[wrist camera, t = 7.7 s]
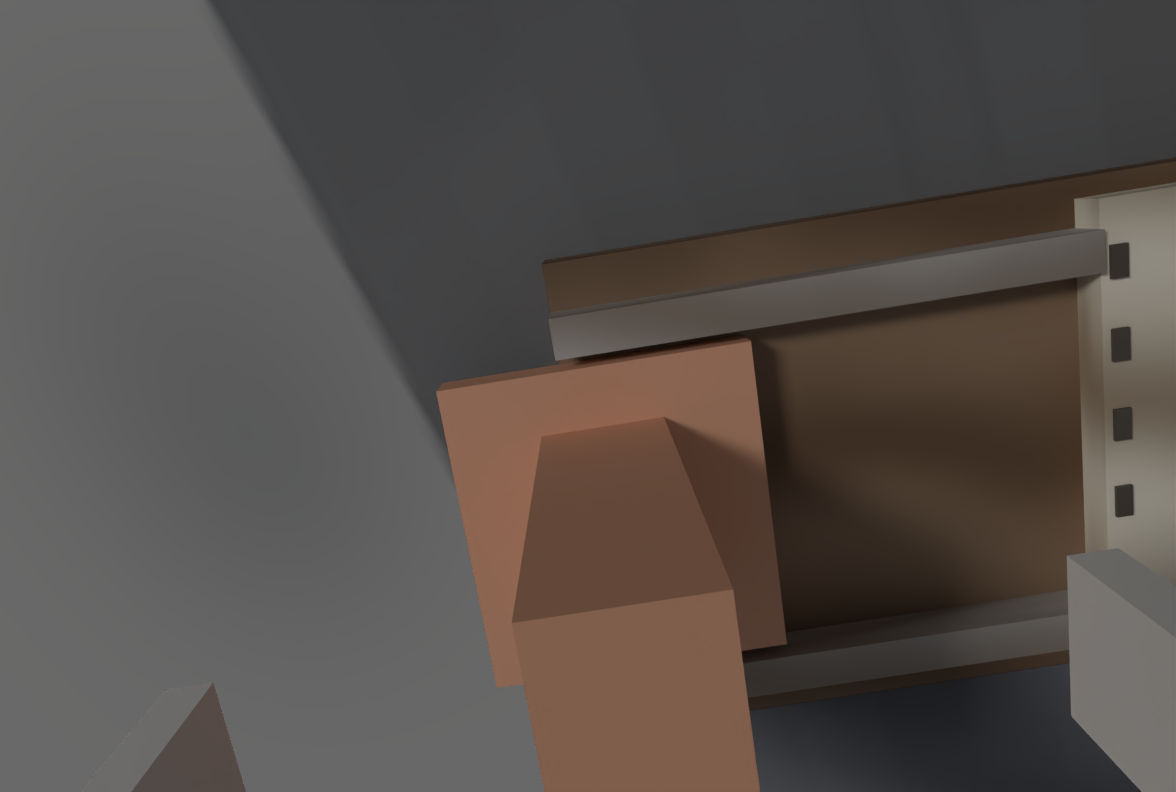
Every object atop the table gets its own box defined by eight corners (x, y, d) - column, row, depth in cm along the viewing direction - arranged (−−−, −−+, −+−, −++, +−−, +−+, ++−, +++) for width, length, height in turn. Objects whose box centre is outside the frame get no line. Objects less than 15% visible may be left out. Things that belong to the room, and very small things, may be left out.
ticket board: (544, 260, 22) (539, 267, 20) (1631, 83, 21) (1777, 66, 19) (618, 699, 25) (623, 757, 22) (1580, 554, 24) (1702, 597, 22)
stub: (442, 383, 21) (318, 546, 11) (742, 334, 21) (896, 455, 11) (500, 667, 23) (439, 1033, 13) (778, 625, 23) (938, 962, 13)
